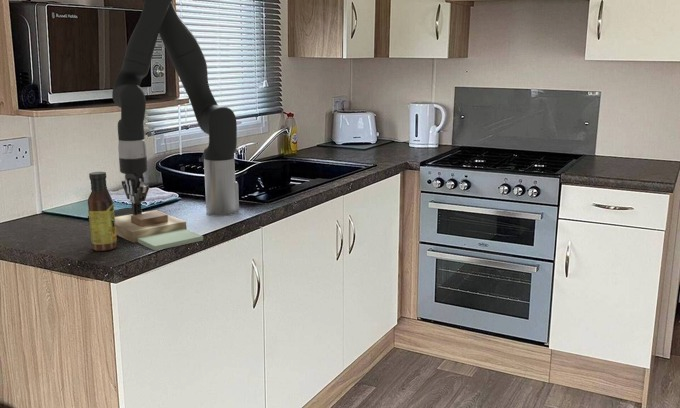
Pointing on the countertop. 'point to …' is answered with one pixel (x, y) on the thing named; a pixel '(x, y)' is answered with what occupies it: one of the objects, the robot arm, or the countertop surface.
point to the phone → (122, 212)
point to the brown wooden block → (149, 218)
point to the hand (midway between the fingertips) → (137, 215)
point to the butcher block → (145, 227)
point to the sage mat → (169, 239)
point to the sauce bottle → (101, 214)
